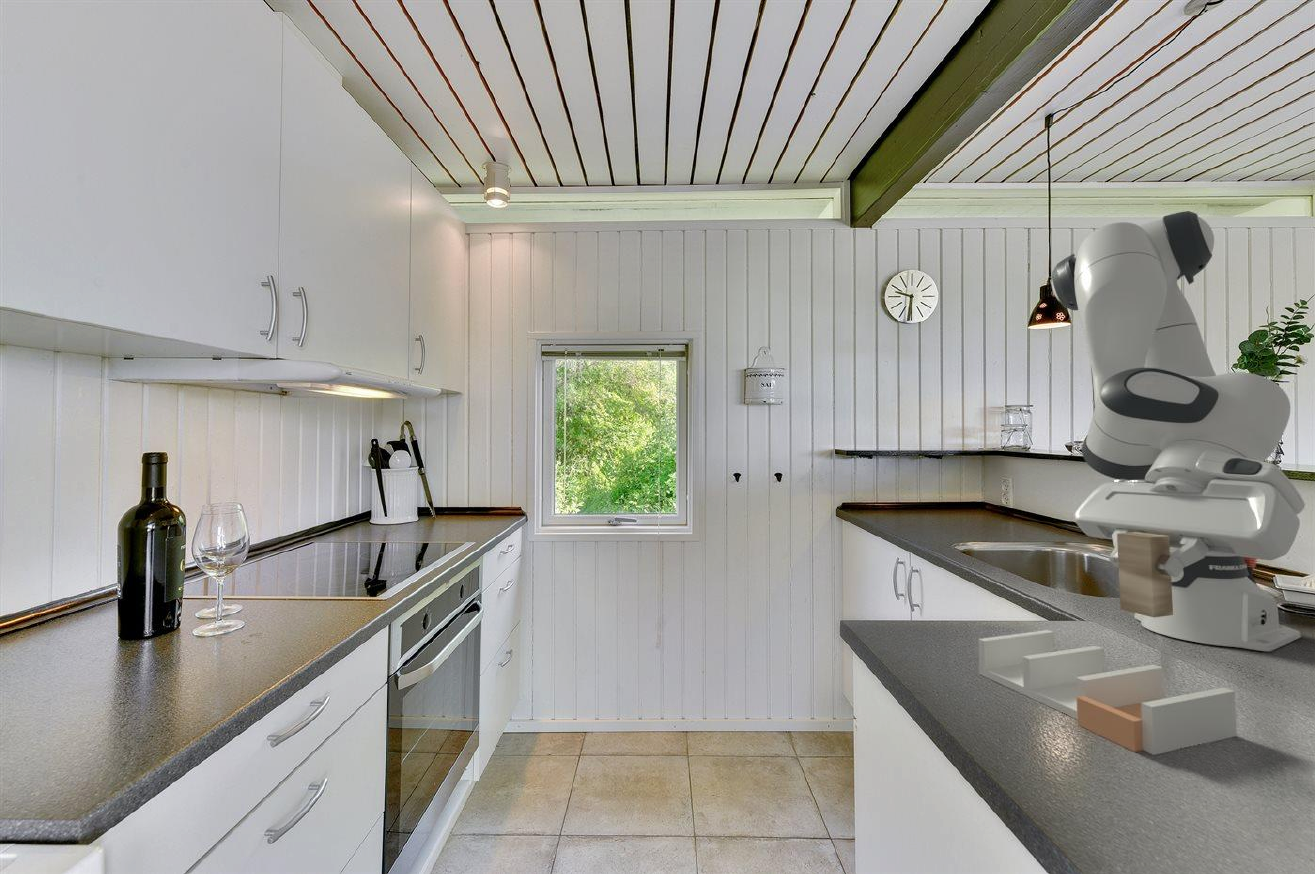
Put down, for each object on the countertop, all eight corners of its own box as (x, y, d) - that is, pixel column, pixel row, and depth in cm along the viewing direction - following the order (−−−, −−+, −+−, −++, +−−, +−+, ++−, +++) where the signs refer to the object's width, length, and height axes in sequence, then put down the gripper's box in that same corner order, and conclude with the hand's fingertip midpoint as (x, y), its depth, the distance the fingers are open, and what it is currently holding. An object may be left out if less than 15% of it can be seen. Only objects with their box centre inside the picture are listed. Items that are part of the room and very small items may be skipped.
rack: (1048, 663, 82) (1047, 629, 83) (1236, 735, 61) (1234, 690, 61) (972, 674, 79) (971, 639, 79) (1145, 756, 57) (1143, 708, 58)
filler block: (1139, 607, 66) (1135, 532, 66) (1173, 615, 63) (1169, 535, 63) (1120, 609, 65) (1117, 533, 66) (1153, 617, 62) (1149, 537, 62)
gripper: (1093, 463, 76) (1041, 537, 73) (1296, 464, 57) (1236, 566, 54) (1119, 494, 77) (1069, 569, 74) (1327, 506, 58) (1270, 608, 55)
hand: (1140, 568), depth 64 cm, fingers closed on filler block, 3 cm apart
